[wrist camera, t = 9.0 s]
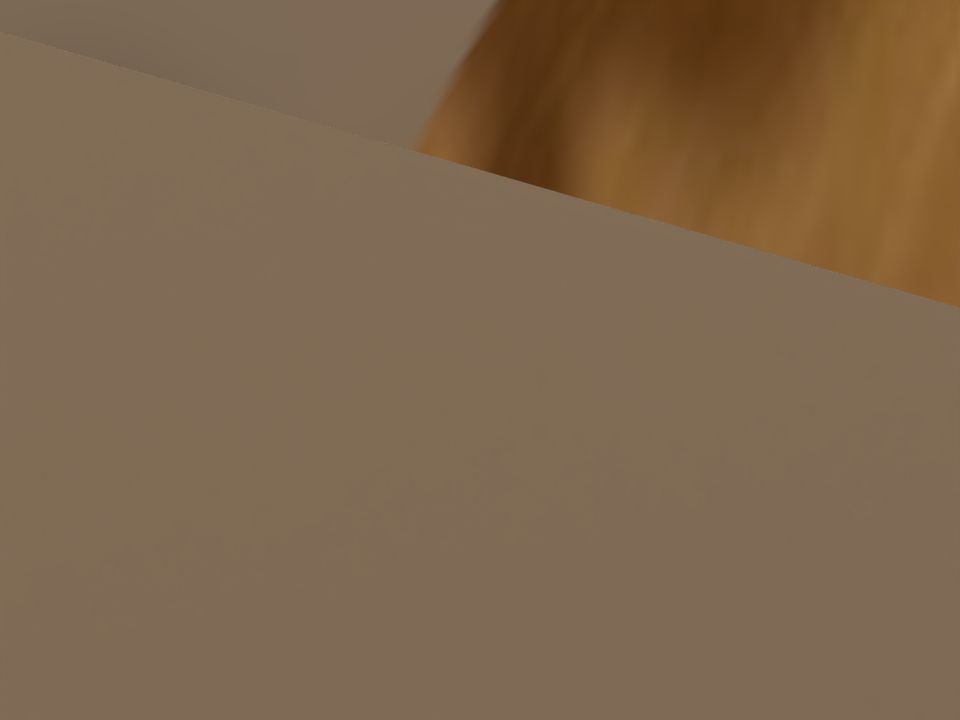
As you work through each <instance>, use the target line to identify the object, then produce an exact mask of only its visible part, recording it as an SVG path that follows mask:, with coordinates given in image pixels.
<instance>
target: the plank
mask: <svg viewBox="0 0 960 720" xmlns="http://www.w3.org/2000/svg"><path fill="white" fill-rule="evenodd" d="M0 720H960V308H959V307H955V306H952V305H949V304H945V303H942V302H938V301H935V300H931V299H928V298H924V297H921V296H917V295H914V294H910V293H907V292H903V291H900V290H896V289H893V288H889V287H886V286H882V285H879V284H875V283H872V282H869V281H865V280H862V279H858V278H855V277H851V276H848V275H844V274H841V273H837V272H834V271H830V270H827V269H823V268H820V267H816V266H813V265H809V264H806V263H802V262H799V261H795V260H792V259H788V258H785V257H782V256H778V255H775V254H771V253H768V252H764V251H761V250H757V249H754V248H750V247H747V246H743V245H740V244H736V243H733V242H729V241H726V240H722V239H719V238H715V237H712V236H708V235H705V234H702V233H698V232H695V231H691V230H688V229H684V228H681V227H677V226H674V225H670V224H667V223H663V222H660V221H656V220H653V219H649V218H646V217H642V216H639V215H635V214H632V213H628V212H625V211H622V210H618V209H615V208H611V207H608V206H604V205H601V204H597V203H594V202H590V201H587V200H583V199H580V198H576V197H573V196H569V195H566V194H562V193H559V192H555V191H552V190H548V189H545V188H542V187H538V186H535V185H531V184H528V183H524V182H521V181H517V180H514V179H510V178H507V177H503V176H500V175H496V174H493V173H489V172H486V171H482V170H479V169H475V168H472V167H468V166H465V165H461V164H458V163H455V162H451V161H448V160H444V159H441V158H437V157H434V156H430V155H427V154H423V153H420V152H416V151H413V150H409V149H406V148H402V147H399V146H395V145H392V144H388V143H385V142H381V141H378V140H375V139H371V138H368V137H364V136H360V135H357V134H354V133H350V132H346V131H343V130H340V129H336V128H333V127H329V126H326V125H322V124H319V123H315V122H312V121H308V120H305V119H301V118H298V117H294V116H291V115H287V114H284V113H281V112H277V111H274V110H270V109H266V108H263V107H260V106H256V105H252V104H249V103H246V102H242V101H239V100H235V99H232V98H228V97H225V96H221V95H218V94H214V93H211V92H207V91H204V90H201V89H197V88H194V87H190V86H187V85H183V84H179V83H176V82H173V81H169V80H166V79H162V78H159V77H155V76H152V75H148V74H145V73H141V72H138V71H134V70H131V69H127V68H124V67H121V66H117V65H114V64H110V63H107V62H103V61H100V60H96V59H93V58H89V57H86V56H82V55H79V54H75V53H72V52H68V51H65V50H61V49H58V48H54V47H51V46H48V45H44V44H40V43H37V42H34V41H30V40H27V39H23V38H20V37H16V36H13V35H9V34H6V33H2V32H0Z"/></svg>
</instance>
